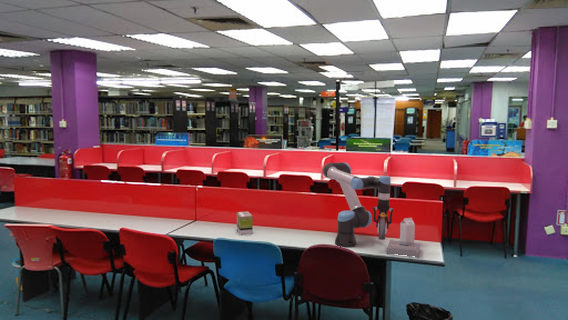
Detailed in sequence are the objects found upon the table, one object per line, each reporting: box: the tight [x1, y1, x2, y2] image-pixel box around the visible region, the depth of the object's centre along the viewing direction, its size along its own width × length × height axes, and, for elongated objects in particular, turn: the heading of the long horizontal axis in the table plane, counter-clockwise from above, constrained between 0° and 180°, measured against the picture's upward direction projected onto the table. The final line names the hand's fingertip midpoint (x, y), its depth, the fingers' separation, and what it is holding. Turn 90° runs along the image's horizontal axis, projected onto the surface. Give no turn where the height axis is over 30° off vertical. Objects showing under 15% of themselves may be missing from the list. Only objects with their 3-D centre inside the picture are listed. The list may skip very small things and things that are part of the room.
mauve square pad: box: [386, 239, 421, 258], centre depth 262 cm, size 20×20×6 cm
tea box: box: [236, 211, 254, 236], centre depth 304 cm, size 15×10×15 cm
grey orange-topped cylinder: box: [378, 212, 389, 241], centre depth 263 cm, size 6×6×18 cm
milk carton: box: [399, 217, 416, 243], centre depth 279 cm, size 7×7×19 cm
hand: (382, 232), depth 264 cm, fingers closed on grey orange-topped cylinder, 4 cm apart
